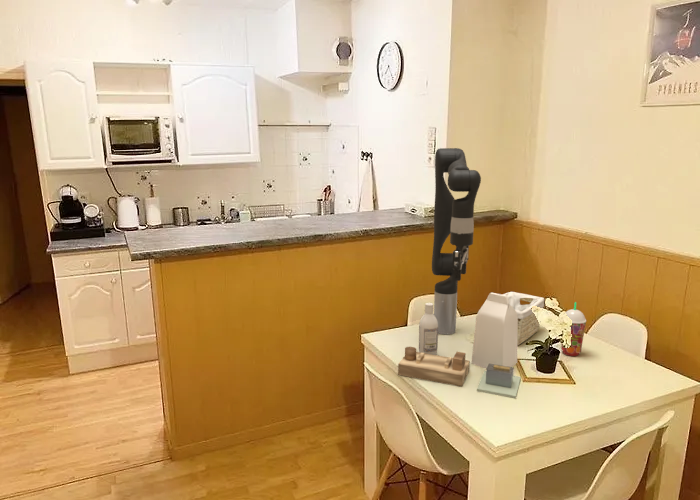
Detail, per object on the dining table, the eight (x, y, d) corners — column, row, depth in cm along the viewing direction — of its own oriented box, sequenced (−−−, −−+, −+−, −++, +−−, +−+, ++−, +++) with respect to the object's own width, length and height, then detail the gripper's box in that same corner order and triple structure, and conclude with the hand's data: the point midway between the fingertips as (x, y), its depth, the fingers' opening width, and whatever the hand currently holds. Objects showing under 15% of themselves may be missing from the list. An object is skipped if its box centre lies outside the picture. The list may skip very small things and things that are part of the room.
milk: (471, 363, 186) (474, 294, 181) (486, 353, 195) (490, 287, 189) (502, 373, 178) (506, 302, 173) (517, 363, 187) (522, 294, 181)
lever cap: (488, 377, 174) (488, 361, 173) (512, 381, 171) (513, 365, 170) (485, 383, 170) (486, 367, 169) (510, 388, 167) (512, 372, 166)
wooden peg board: (408, 360, 189) (409, 340, 187) (469, 371, 180) (470, 350, 179) (398, 374, 178) (398, 353, 177) (462, 386, 170) (463, 364, 168)
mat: (484, 372, 179) (484, 370, 179) (520, 379, 175) (520, 376, 174) (476, 391, 167) (477, 388, 167) (515, 398, 162) (515, 396, 162)
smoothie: (558, 355, 192) (563, 304, 188) (558, 347, 200) (563, 297, 195) (583, 359, 189) (588, 307, 185) (582, 350, 197) (587, 300, 192)
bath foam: (441, 355, 193) (442, 304, 189) (427, 360, 189) (428, 308, 185) (428, 349, 199) (429, 299, 194) (414, 353, 195) (415, 303, 191)
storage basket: (506, 322, 227) (509, 289, 224) (543, 330, 217) (546, 297, 213) (481, 338, 209) (483, 303, 206) (520, 349, 199) (523, 312, 196)
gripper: (455, 226, 181) (453, 270, 185) (445, 233, 168) (444, 281, 172) (477, 227, 178) (475, 273, 182) (469, 235, 165) (466, 283, 169)
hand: (459, 277), depth 177 cm, fingers open, 8 cm apart
